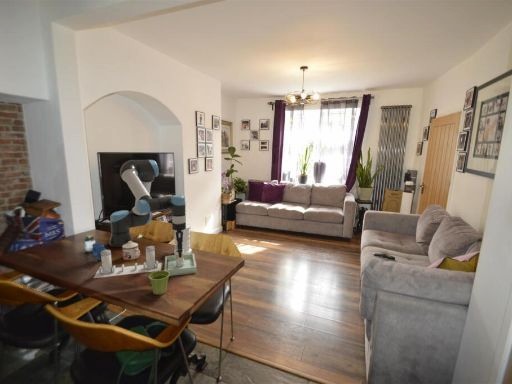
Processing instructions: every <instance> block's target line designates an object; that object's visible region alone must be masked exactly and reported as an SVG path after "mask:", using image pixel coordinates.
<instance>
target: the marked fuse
mask: <svg viewBox="0 0 512 384" xmlns="http://www.w3.org/2000/svg"><path fill="white" fill-rule="evenodd" d="M179 250H181V249H179ZM182 250H183V262H181V263H178V252H176V266H177V267H183V266H184V245H182ZM176 251H178V245H176Z"/></svg>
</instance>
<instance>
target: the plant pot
mask: <svg viewBox="0 0 512 384" xmlns="http://www.w3.org/2000/svg"><path fill="white" fill-rule="evenodd" d="M169 275H170V273H169V272H168V271H164V270H160V271H152V272H151V273H150V274H148V278H149V281H150V283H151V289H152V294H154V295H163V294H165V293H166V292H167V288H168V284H169V283H168V282H169V277H170V276H169Z"/></svg>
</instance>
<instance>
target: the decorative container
mask: <svg viewBox="0 0 512 384" xmlns="http://www.w3.org/2000/svg"><path fill="white" fill-rule="evenodd" d="M173 231H174V232H173V234H174V250H173V254H174V255H176V245H177V240H176V232H177V231H176V230H173ZM181 231H183V242H182V245H184V254H191V253H192V252H193V249H192V248H191V234H190V233H191V224H187V223H186V229H184V230H181Z"/></svg>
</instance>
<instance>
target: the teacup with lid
mask: <svg viewBox="0 0 512 384" xmlns="http://www.w3.org/2000/svg"><path fill="white" fill-rule="evenodd" d="M121 248H122V258H123V260H125V261H132V260H136V259H138V258H139V257H140V256H141V251H140V249H139V244H138V243H137V242H134V241H133V242H132V241H129V242H128V243H127V244H124V245H123V246H122V247H121Z"/></svg>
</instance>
